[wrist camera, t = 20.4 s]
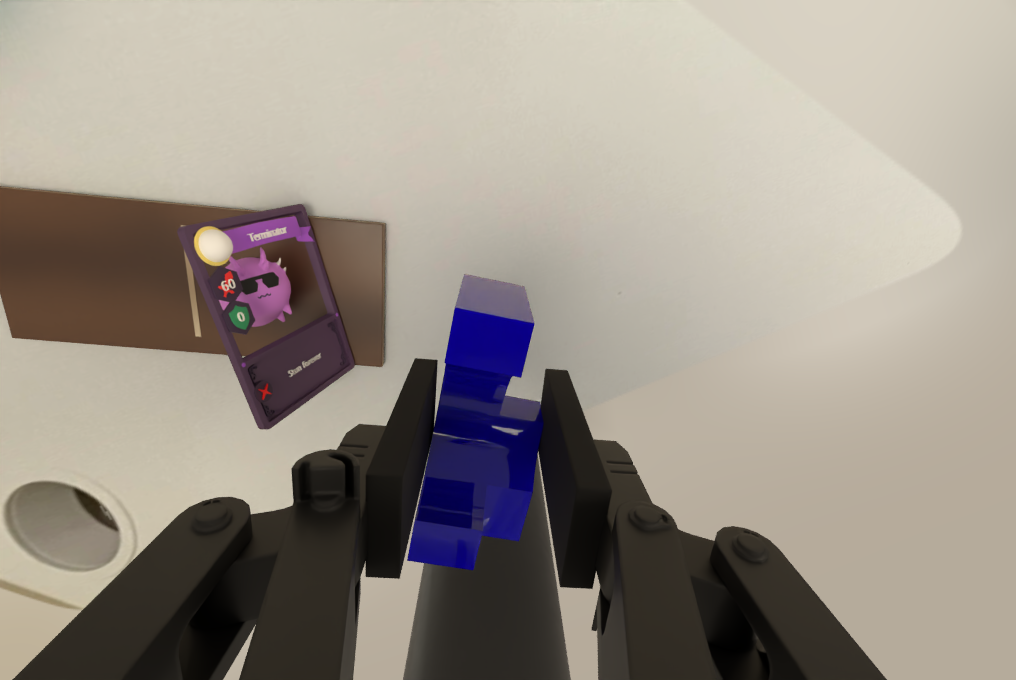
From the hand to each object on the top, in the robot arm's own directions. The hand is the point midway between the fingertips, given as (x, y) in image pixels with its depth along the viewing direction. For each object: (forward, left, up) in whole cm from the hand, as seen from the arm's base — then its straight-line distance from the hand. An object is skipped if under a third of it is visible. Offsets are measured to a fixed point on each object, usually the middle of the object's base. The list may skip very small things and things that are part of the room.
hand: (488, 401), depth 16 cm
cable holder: (0, 0, -1) cm, 1 cm away
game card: (0, +11, -11) cm, 15 cm away
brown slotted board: (0, +16, -11) cm, 19 cm away
